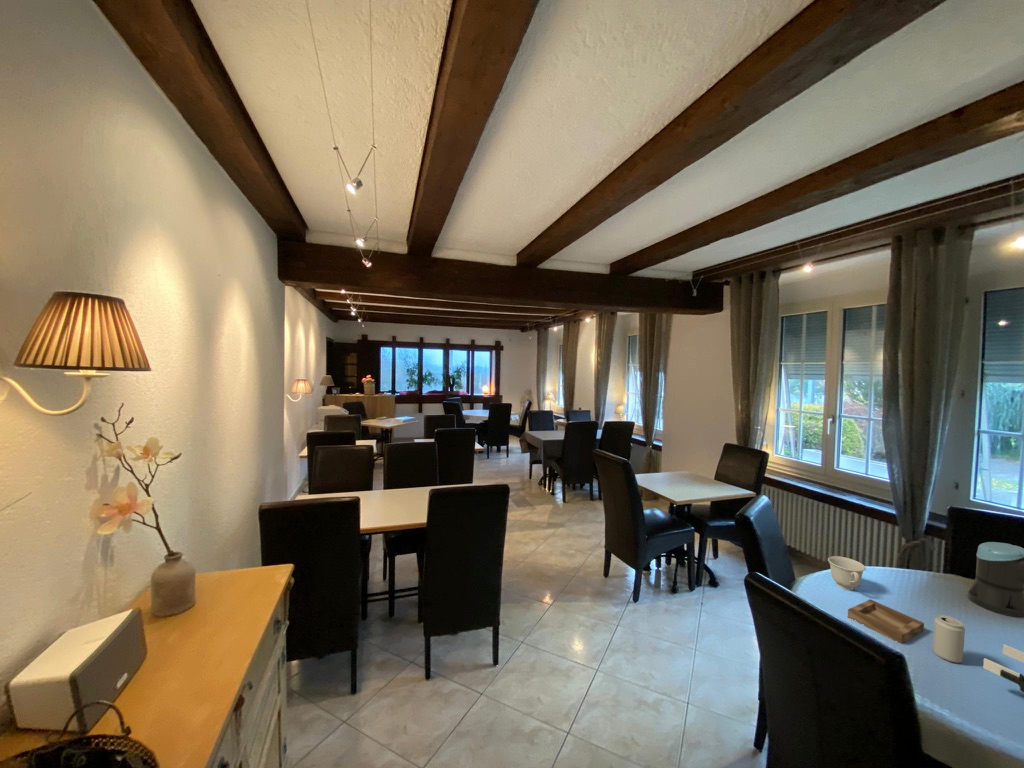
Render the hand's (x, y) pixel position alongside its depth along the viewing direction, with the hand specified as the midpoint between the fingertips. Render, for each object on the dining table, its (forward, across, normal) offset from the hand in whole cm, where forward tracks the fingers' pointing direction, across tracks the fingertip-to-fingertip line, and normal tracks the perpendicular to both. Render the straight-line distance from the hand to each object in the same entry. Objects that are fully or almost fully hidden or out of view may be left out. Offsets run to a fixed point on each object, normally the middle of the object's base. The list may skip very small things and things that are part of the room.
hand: (993, 655), depth 116 cm
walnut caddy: (+26, +2, -7) cm, 27 cm away
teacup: (+44, +16, -7) cm, 47 cm away
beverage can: (+9, 0, -7) cm, 12 cm away
